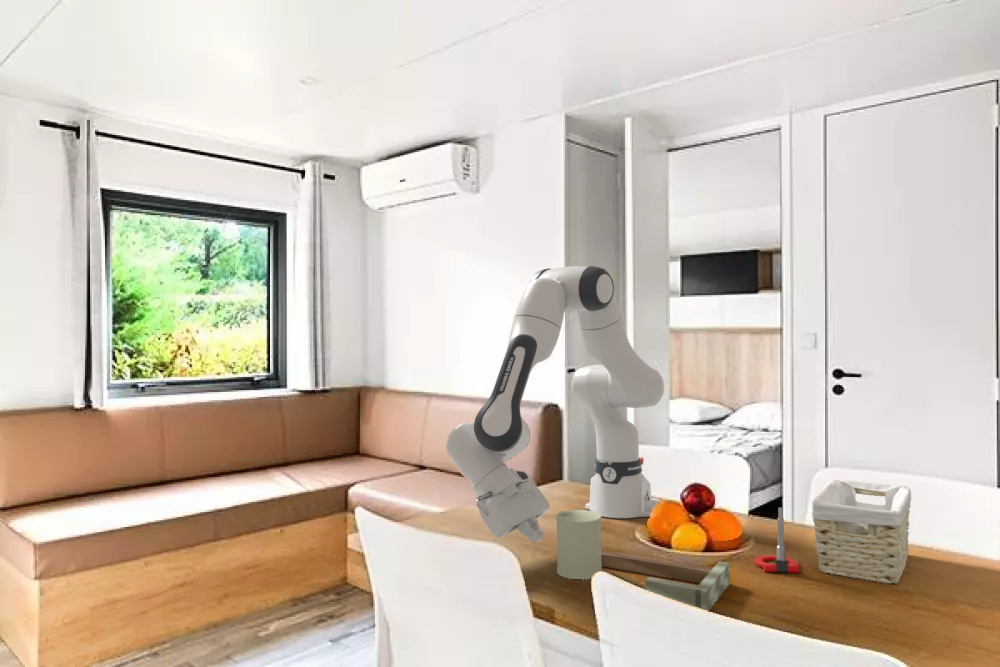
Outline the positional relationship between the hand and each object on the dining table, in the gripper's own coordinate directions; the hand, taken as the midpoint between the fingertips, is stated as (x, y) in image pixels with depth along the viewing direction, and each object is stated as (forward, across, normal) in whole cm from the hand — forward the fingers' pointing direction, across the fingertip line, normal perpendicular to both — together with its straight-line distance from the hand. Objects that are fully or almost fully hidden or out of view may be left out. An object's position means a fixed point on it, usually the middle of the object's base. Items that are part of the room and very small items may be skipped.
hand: (539, 540), depth 149 cm
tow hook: (+34, +23, -26) cm, 49 cm away
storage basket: (+45, +33, -37) cm, 67 cm away
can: (+10, 0, -2) cm, 10 cm away
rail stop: (+19, 0, -12) cm, 23 cm away
